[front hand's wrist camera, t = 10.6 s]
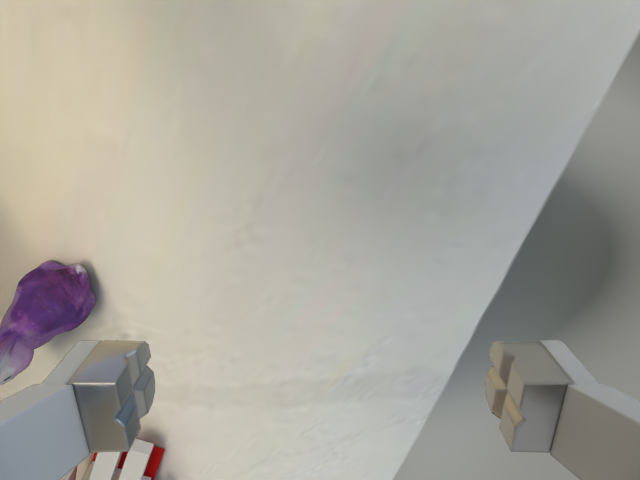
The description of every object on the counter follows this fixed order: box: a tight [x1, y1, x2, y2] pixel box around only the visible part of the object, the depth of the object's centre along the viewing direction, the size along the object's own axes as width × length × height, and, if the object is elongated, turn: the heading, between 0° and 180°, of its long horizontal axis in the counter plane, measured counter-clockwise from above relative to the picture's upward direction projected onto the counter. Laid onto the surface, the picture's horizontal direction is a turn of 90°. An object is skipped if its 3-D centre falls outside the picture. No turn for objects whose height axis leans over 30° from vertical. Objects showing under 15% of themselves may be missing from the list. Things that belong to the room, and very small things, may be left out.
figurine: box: [0, 261, 96, 385], centre depth 49 cm, size 9×10×15 cm
